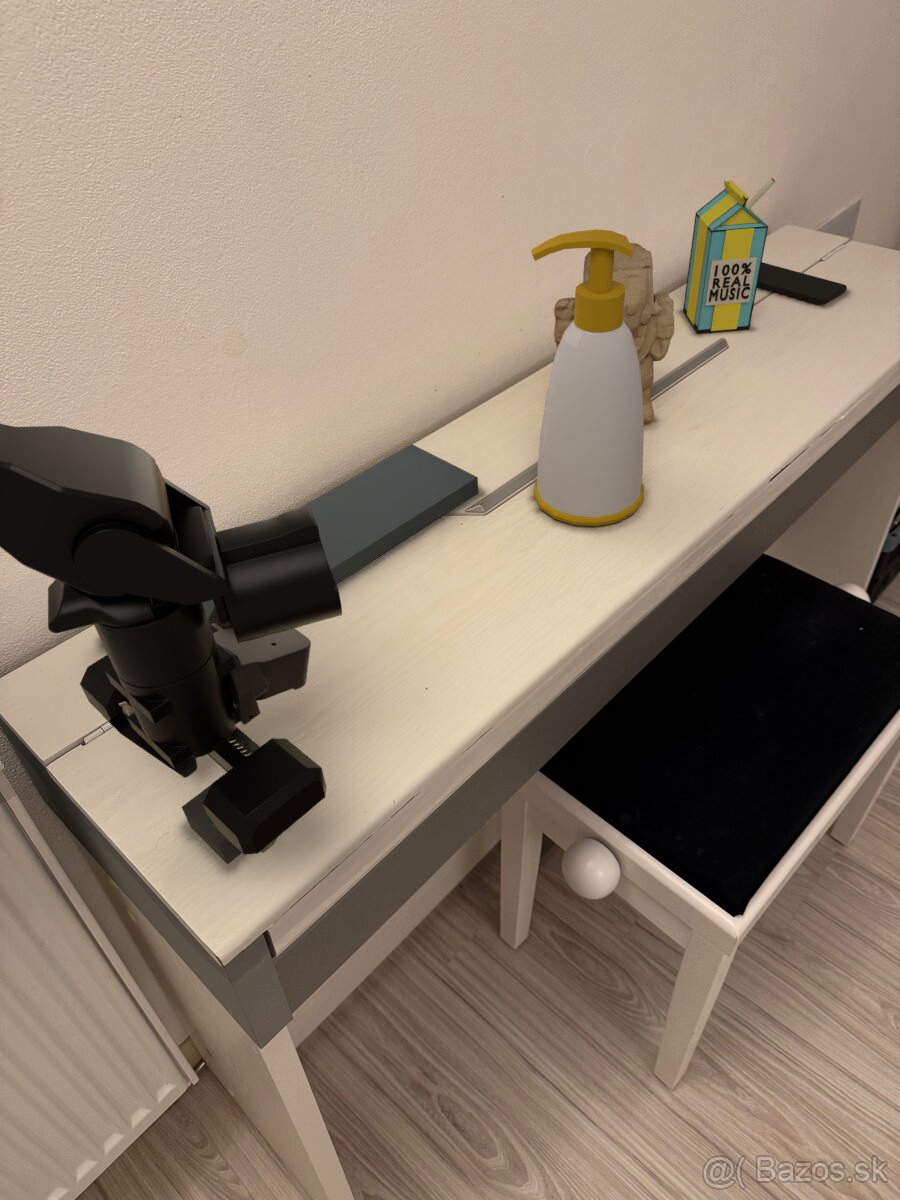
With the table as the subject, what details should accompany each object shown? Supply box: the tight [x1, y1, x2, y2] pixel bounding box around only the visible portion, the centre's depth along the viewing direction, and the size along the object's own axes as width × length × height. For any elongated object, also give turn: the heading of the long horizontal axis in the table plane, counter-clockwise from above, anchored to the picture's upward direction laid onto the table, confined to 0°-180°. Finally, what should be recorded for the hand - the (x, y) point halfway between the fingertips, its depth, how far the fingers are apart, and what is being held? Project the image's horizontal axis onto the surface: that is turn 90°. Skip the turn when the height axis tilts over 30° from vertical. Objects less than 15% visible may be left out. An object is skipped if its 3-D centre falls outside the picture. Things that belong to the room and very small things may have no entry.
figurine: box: [553, 242, 675, 424], centre depth 92 cm, size 13×7×20 cm, turn 90°
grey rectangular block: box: [202, 443, 479, 619], centre depth 83 cm, size 38×10×2 cm, turn 135°
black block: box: [181, 784, 243, 865], centre depth 61 cm, size 4×4×2 cm
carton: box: [682, 177, 776, 335], centre depth 111 cm, size 7×8×18 cm
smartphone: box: [757, 261, 848, 305], centre depth 123 cm, size 7×1×15 cm
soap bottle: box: [530, 228, 645, 527], centre depth 80 cm, size 11×12×26 cm
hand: (227, 808), depth 60 cm, fingers open, 9 cm apart
